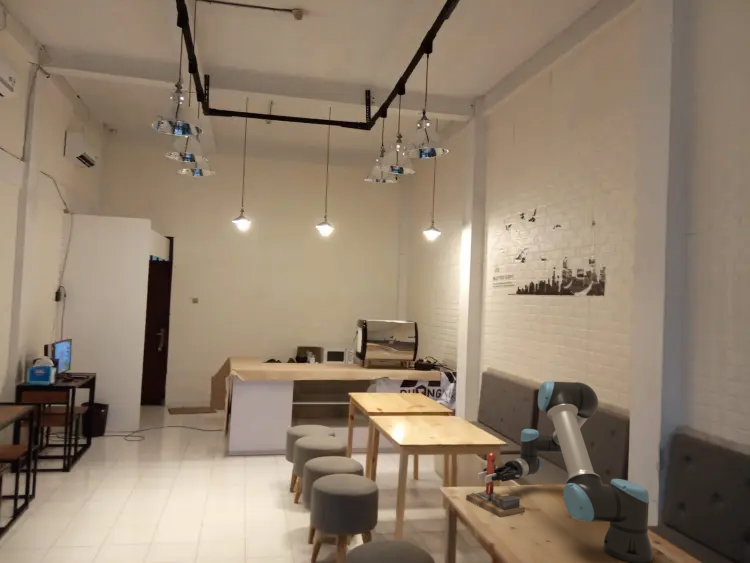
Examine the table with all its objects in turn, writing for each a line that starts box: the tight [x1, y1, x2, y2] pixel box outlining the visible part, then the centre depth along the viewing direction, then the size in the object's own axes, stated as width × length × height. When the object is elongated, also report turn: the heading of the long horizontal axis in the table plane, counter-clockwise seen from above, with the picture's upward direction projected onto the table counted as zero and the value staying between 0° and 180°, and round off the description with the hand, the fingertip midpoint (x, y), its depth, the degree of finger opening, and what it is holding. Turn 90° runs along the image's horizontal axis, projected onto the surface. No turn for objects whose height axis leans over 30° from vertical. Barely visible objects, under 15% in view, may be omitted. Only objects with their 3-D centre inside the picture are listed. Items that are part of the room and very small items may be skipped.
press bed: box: [465, 489, 526, 518], centre depth 221 cm, size 20×13×6 cm, turn 31°
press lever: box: [480, 452, 497, 500], centre depth 223 cm, size 7×5×18 cm
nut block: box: [495, 491, 511, 500], centre depth 218 cm, size 4×4×4 cm
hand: (482, 478), depth 220 cm, fingers closed on press lever, 3 cm apart
